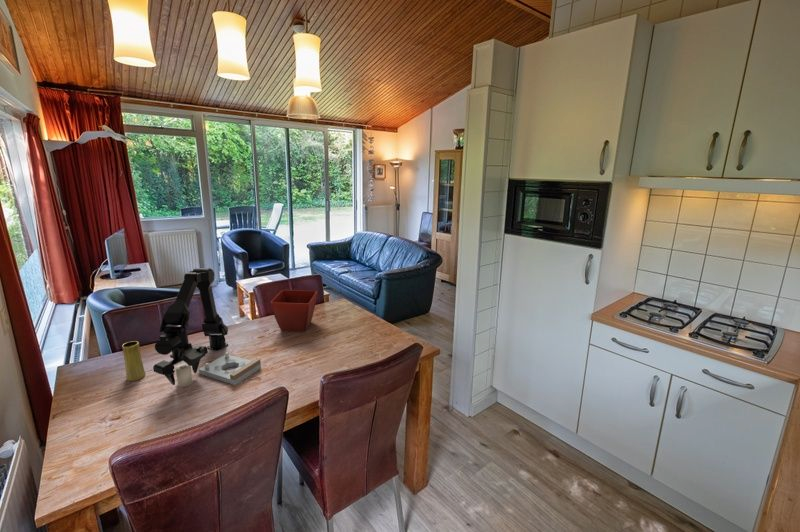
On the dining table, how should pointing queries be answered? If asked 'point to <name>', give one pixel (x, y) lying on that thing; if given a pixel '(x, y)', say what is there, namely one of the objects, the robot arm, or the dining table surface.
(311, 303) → the plant pot
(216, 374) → the jig
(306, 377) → the dining table surface
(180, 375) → the bushing
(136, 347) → the vase
